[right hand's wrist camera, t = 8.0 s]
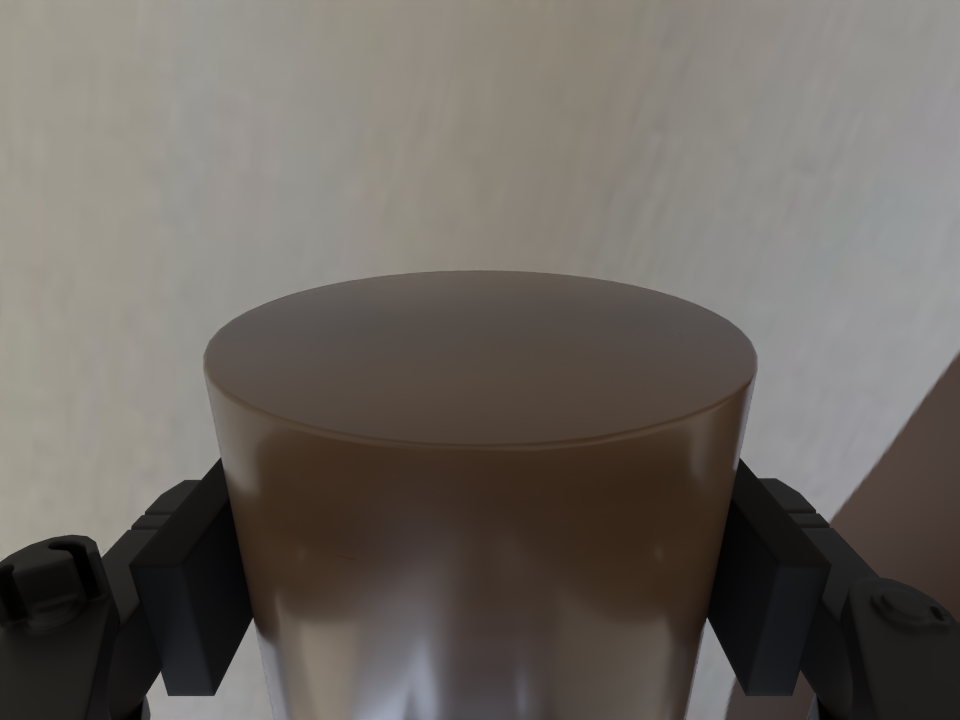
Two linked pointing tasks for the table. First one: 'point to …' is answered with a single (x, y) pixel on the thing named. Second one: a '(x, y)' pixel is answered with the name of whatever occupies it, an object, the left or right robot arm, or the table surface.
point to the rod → (480, 492)
